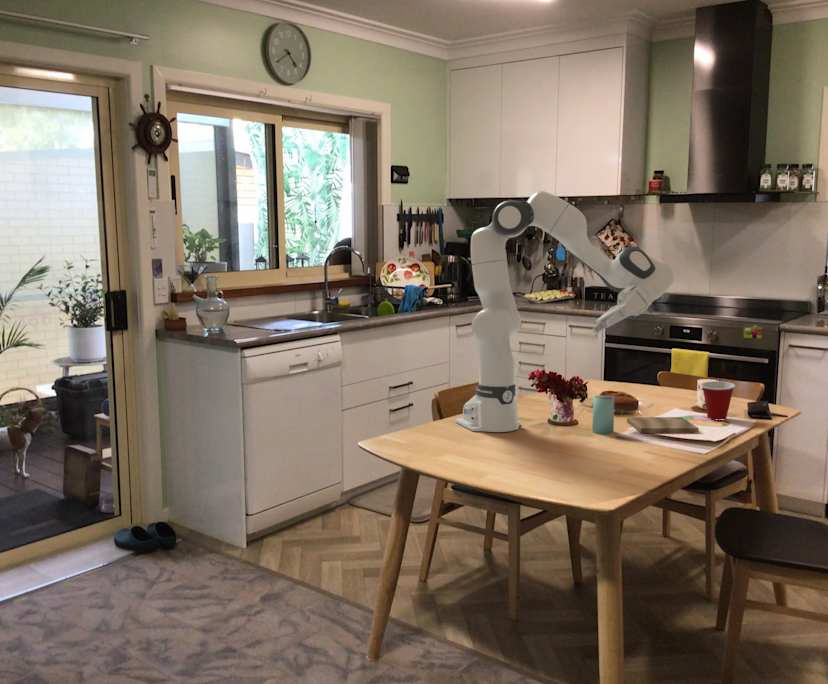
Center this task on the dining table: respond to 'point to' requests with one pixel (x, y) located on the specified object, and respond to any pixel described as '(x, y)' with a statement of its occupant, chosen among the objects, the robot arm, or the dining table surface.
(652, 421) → the board
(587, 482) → the dining table surface
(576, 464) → the dining table surface
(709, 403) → the plastic cup
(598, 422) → the green tin
